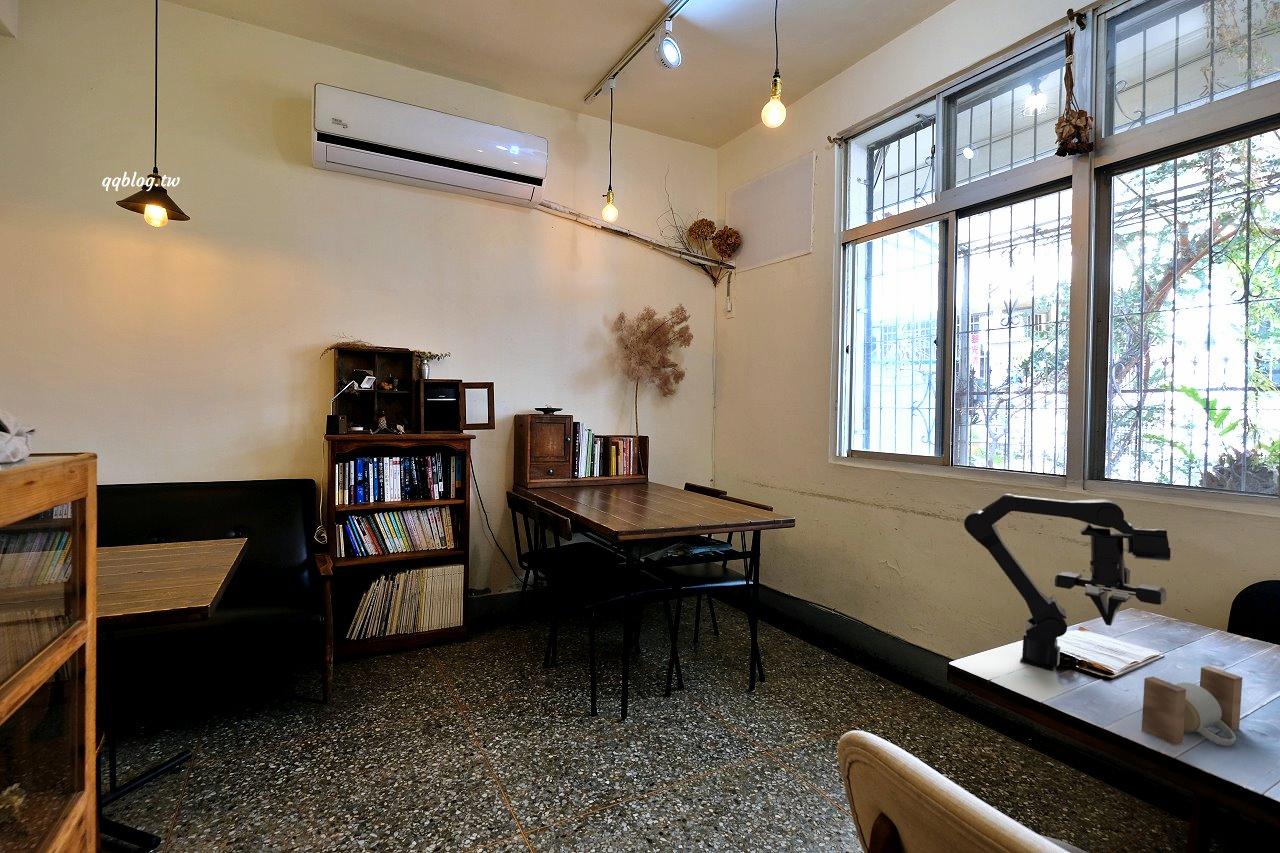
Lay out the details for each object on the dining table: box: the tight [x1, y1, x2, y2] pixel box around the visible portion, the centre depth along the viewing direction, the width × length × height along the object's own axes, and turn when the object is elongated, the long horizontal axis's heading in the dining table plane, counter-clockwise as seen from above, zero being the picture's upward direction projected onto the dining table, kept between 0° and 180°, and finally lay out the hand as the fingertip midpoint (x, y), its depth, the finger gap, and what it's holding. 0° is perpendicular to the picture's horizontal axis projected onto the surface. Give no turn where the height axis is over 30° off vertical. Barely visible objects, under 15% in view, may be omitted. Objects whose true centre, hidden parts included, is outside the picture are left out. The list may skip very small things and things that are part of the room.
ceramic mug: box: [1174, 682, 1237, 747], centre depth 106 cm, size 11×8×8 cm
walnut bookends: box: [1141, 665, 1243, 746], centre depth 106 cm, size 5×20×10 cm, turn 109°
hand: (1108, 625), depth 126 cm, fingers closed
